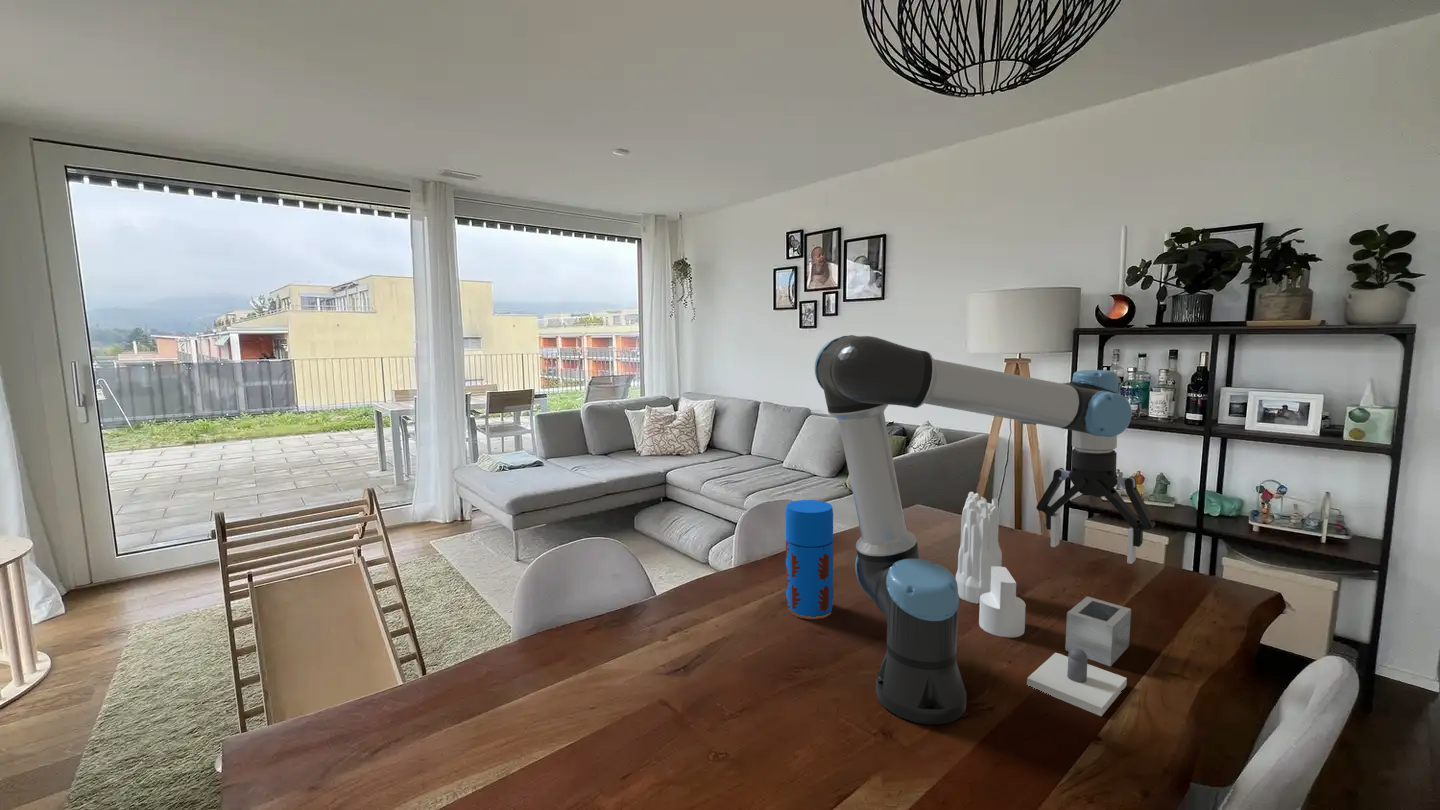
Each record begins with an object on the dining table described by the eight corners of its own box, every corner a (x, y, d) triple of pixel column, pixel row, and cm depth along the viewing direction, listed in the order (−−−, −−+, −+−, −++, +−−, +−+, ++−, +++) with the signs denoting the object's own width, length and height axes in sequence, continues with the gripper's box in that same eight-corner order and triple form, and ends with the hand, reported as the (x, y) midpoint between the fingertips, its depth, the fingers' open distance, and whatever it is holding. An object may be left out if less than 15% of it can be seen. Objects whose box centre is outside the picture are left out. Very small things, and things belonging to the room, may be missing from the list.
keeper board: (1101, 716, 101) (1103, 677, 100) (1026, 685, 110) (1028, 649, 109) (1126, 685, 109) (1128, 649, 108) (1055, 659, 118) (1056, 625, 117)
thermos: (831, 600, 146) (831, 499, 143) (835, 620, 136) (835, 513, 133) (786, 599, 147) (785, 499, 144) (786, 619, 137) (785, 512, 134)
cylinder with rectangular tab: (1030, 639, 126) (1032, 584, 125) (984, 635, 128) (985, 581, 126) (1017, 619, 135) (1019, 567, 133) (975, 616, 137) (976, 565, 135)
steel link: (1110, 666, 115) (1112, 626, 114) (1065, 650, 121) (1067, 612, 120) (1128, 646, 122) (1131, 608, 121) (1085, 632, 128) (1087, 596, 127)
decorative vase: (1010, 604, 142) (1014, 501, 139) (965, 605, 142) (968, 501, 139) (991, 585, 153) (994, 489, 150) (948, 585, 153) (951, 489, 150)
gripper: (1176, 452, 111) (1172, 562, 114) (1034, 439, 130) (1033, 534, 133) (1166, 460, 107) (1162, 575, 109) (1020, 445, 125) (1019, 544, 128)
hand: (1091, 553), depth 121 cm, fingers open, 13 cm apart
